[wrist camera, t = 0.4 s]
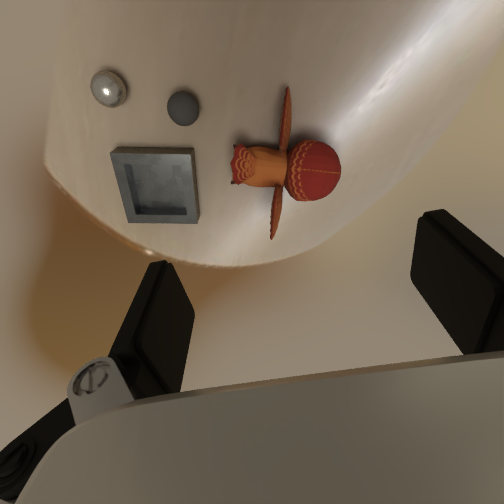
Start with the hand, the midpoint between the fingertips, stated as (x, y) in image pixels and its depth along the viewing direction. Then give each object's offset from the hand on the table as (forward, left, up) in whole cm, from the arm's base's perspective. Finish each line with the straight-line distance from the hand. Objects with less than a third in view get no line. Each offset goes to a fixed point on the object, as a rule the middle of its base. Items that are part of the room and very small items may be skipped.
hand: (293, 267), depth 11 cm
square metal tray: (+11, -15, -34) cm, 39 cm away
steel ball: (-2, -19, -32) cm, 38 cm away
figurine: (+6, +3, -35) cm, 35 cm away
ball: (0, -10, -32) cm, 34 cm away
